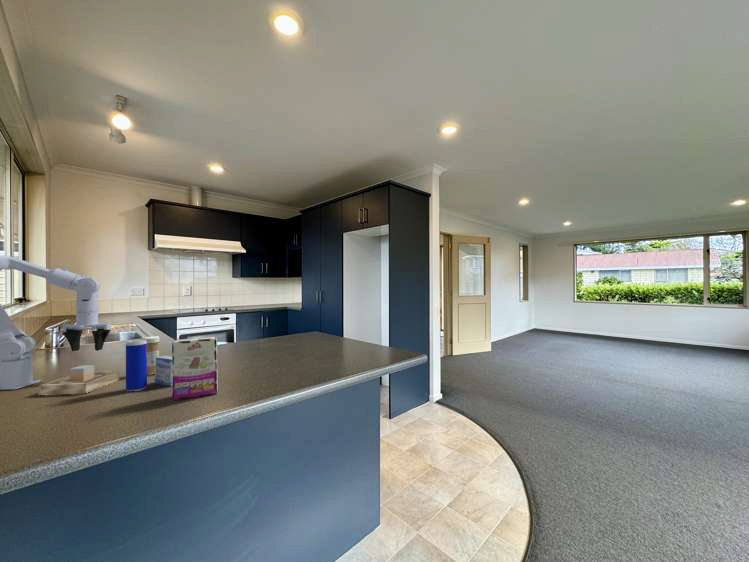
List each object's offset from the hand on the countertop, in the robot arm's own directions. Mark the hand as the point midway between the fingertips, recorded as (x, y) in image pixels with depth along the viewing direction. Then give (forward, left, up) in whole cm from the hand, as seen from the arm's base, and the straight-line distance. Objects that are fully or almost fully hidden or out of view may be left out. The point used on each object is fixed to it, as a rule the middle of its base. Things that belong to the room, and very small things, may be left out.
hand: (87, 350), depth 107 cm
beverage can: (+27, -16, -10) cm, 33 cm away
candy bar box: (+48, -23, -10) cm, 54 cm away
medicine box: (+34, -11, -10) cm, 37 cm away
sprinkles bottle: (+21, +1, -10) cm, 23 cm away
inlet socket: (+8, -12, -9) cm, 17 cm away
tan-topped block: (+8, -12, -9) cm, 17 cm away
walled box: (+8, -12, -9) cm, 17 cm away
